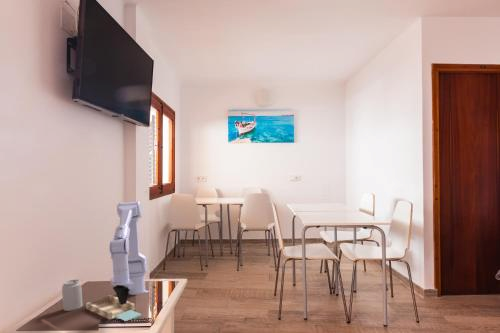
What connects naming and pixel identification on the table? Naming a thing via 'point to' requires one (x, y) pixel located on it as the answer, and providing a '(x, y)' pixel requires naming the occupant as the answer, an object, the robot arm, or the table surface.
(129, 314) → the pale teal square slab
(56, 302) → the table surface
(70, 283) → the can
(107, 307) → the tray
